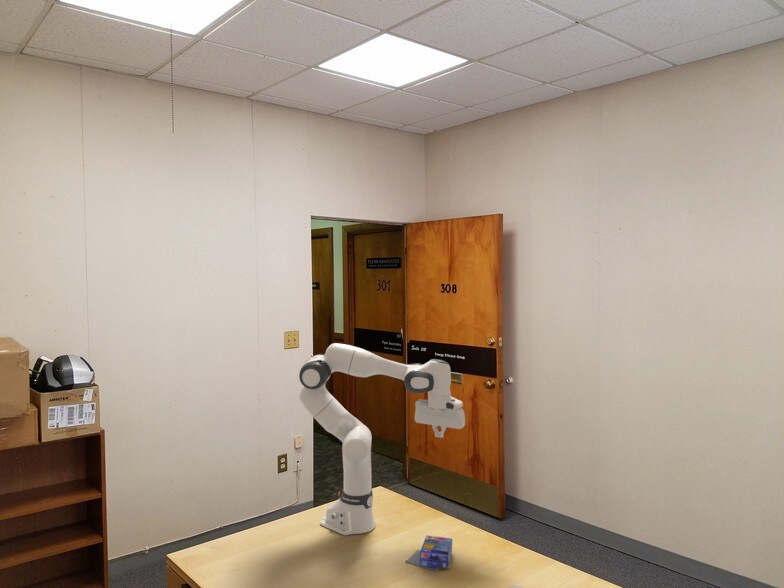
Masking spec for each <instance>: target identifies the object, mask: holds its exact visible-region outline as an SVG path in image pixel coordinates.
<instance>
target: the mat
mask: <svg viewBox="0 0 784 588" xmlns="http://www.w3.org/2000/svg"><path fill="white" fill-rule="evenodd" d="M420 551H421V549H417V550H416V551H415V552H413V553H412V555H411V556H409V557H407V559H406V560H405V563H407V564H410V565H413V566H418V567H420V568H424V569H426V570H430V571H434V572H438V571H439V570H441V568H436V567H425V566H420Z"/></svg>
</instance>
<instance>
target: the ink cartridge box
mask: <svg viewBox="0 0 784 588" xmlns="http://www.w3.org/2000/svg"><path fill="white" fill-rule="evenodd" d="M422 543H423V544H422V545H421V548H420V566H425V567H436V568H440V570H441V569H444V570H448V569H449V566H450V565H449V564H450V560H451V557H452V552H453V538H452V537H450V538H449V537H441V536H435V535H427V534H426V536H425V538H424V540H423V542H422ZM420 566H419V567H420Z"/></svg>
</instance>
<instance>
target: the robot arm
mask: <svg viewBox="0 0 784 588" xmlns="http://www.w3.org/2000/svg"><path fill="white" fill-rule="evenodd" d="M451 371H452V370H451V366H450V364H449V362H447V361H445V360H443V359H437V358H433V359H432V358H431V359H430V360H429V361H427V362H425V363H424V364H422V363H409V364H407V363H402V362H397V361H395V360H392V359H387V358H384V357H381V356H380V355H378V354H375V353H373V352H371V351H369V350H366V349H364V348H361V347H358V346H354V345H351V344H345V343H337V342H335V343H331V344H330V345H329V346H328V347H327V348H326V351H325V353H316V354H314V355H312V356H311V357H310V358H308V359H307V360H306V361H305V362H304V364H303V365H302V366H301V368H300V371H299V374H298V375H299V378H298V379H299V382H300V383H301V385H302V386H303V388H301V391H300V393H299V400H300V401H301V403H302V405H303V406H304V408H305V409H306V410H307V412H308V413H309V414H310V415H311V416H312V418H313V419H314V420H315V421H316V422H317V423H318V424H319V425H320V426H321V427H322V428H323V429H324V430H325V431H326V432H328V433H330V434H332V435H333V436H335V438H337V439H338V440H339V441H340V442H341V443H342V444H341V445H342V446H341V448H342V453H341V454H342V469H343V489H341V490H340V491H338V493H337V496H340V497H339V498H338V499H336V500H335V501H334V502H333V503H331V504H330V505H329V506H328V507H327V509H326V514H325V515H324V516H323V517H322V518H321V519H320V521H319V525H320V526H322V527H325V528H327V529H329V530H331V531H333V532H336V533H338V534H340V535H342V536H349V535H358V534H360V535H361V534H366V533H368V532H371V531H373V530H374V529H375V528H376V526H377V525H376V522H375V517H374V511H373V489H372V439H373V437H372V432H371V430H370V428H369V427H368V426H366V425H365V424H364V423H363V422H362V421H360V420H359V419H358V418H357V417H355V416H354V415H352V413H350V412H349V411H348V410H347V409H346V408H344V406H343V405H342V404H341V403H340V402H339V401H338V400H337V399H336V398H335V397H334V396H333V395H332V394H331V393H330V392H329V391H328V389H327V387H326V384H327V382H328V380H329V379H330V377H331V376H332V374H333V373H335V372H340V373H343V374H346V375H350V376H353V377H357V378H358V377H359V378H368V377H372V376H375V375H376V376H377V375H383V376H386V377H387V376H388V377H391V378H395V379H399V380H402V381H403V383H404V386H405V387H404V388H405V389H406V390H407V391H408V392H410V393H411V394H422V393H427V399H422V398H419V399H418V400H416V401H415V404H414V405H415V406H414V407H415V411H414V422H416V424H423V425H429V426H431V428H432V430H433V432H434V437H436V438H440V439H441V438H444V436H445V435H444V433H445V431H446V430H447V428H449V429H456V430H461V429H464V427H465V425H466V415H465V411H464V409H463V408H462V407H464V402H463V401H462V400H460V399H457V398H456V397H453V396H452V391H451V384H452V376H451V375H452V372H451ZM438 427H440V429H441V430H440V431H439V429H438Z"/></svg>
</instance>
